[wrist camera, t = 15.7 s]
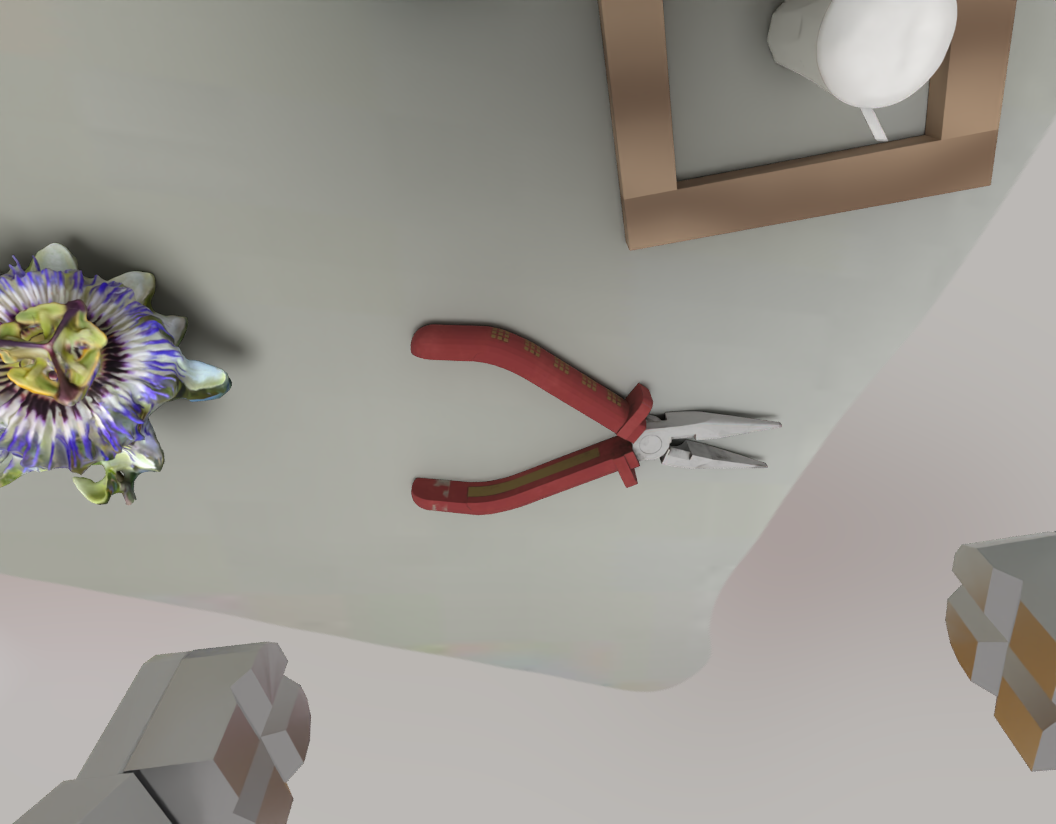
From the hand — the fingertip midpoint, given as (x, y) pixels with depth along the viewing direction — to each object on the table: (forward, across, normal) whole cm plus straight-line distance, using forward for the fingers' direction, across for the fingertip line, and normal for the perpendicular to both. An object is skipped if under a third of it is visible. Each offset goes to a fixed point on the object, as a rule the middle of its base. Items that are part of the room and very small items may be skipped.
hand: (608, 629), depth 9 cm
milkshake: (+29, -12, -3) cm, 32 cm away
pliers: (+30, +1, +16) cm, 34 cm away
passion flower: (+29, +25, +5) cm, 39 cm away
